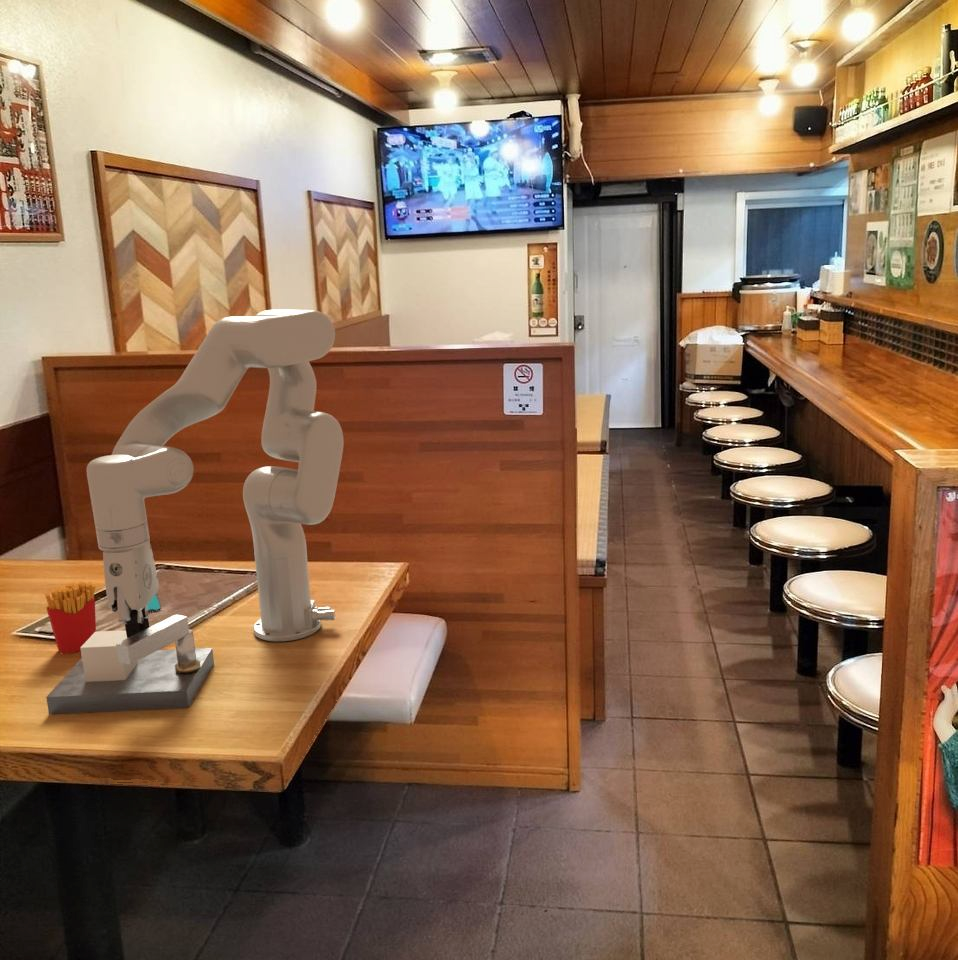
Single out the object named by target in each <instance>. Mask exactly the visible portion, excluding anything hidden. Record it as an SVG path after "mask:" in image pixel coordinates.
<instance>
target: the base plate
mask: <svg viewBox="0 0 958 960" xmlns="http://www.w3.org/2000/svg"><path fill="white" fill-rule="evenodd" d="M195 651H196V660H199V661H200V668H199V669H197V670H195V671H193V672H189V673H179V672H176V670H175V665H176V664H177V663H178V661H177V654H176V649H159V650H157V651H155V652H153V653H152V654H150V655H148V656H146V657H144V658H142V659H140V660H138V664H137V665H136V666H135V668H134V669H133V670H132V672H131V673H130V674H129V676H128V677H127V678H126V680H114V681H93V682H85V675H84V669H83V662H82V657H81V658H80V659H79V660H78V661H77V662H76V664H75V665H73V667H72V668H71V669H70V670H69V671H68V672H67V673H66V674H65V676H64V677H63V678H62V679H61V680H60V681H59V682H58V683H57V685H55V686H54V688H53V689H52V690H51V691H50V692H49V693H48V695H47V696H46V697H45V698H46V704H47V710H48V714H49V715H60V714H62V715H63V714H84V713H103V712H104V713H106V712H126V711H129V712H130V711H146V710H147V711H150V710H169V709H171V710H173V709H189V708H190V706H191V704H192V703H193V701H194V700H195V698H196V696H197V694H198V693H199V691H200V689H201V687H202V686H201V685H203V684H204V682H205V681H206V679H207V676H208V675H209V674H210V672H211V669H212V668H213V667H214V665H215V658H214V651H213V647H205V648H203V647H202V648H201V647H200V648H198V647H197V648H195ZM213 664H214V665H213ZM209 671H210V672H209Z"/></svg>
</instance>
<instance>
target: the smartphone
mask: <svg viewBox="0 0 958 960" xmlns="http://www.w3.org/2000/svg"><path fill="white" fill-rule="evenodd" d="M147 605H148V612H150V611H156V610H160V609H161V610H162V606H161V604H160V601H159V598H158V595H157V593H156V594H155V595H154V597H153V598H152V599H151V600H150V601H149V602H148V604H147ZM161 610H160V611H161ZM156 612H157V611H156Z"/></svg>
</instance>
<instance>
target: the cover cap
mask: <svg viewBox="0 0 958 960" xmlns="http://www.w3.org/2000/svg"><path fill="white" fill-rule="evenodd" d="M125 639H127V635H126V629H124V630H103V631H102V630H101V631H96V632H94V634H93V635H92V636H91V637H90V638H89V639H88V640H87V641H86V642H85V643H84V644H83V645H82V646H81V648H80V649H81V650H80V653H81V658H82V662H83V669H84V675H85V682H93V681H114V680H126V678H127V677H128V676H129V674H130V673H131V672H132V670H133V669H134V668H135V666H136V665H137V664H138V661H136V662H135V663H133V664H131V665H129V664H125V663H120V662H118V656H117V649H116V644H117V643H119V642H121V641H123V640H125Z"/></svg>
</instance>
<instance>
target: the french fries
mask: <svg viewBox="0 0 958 960" xmlns="http://www.w3.org/2000/svg"><path fill="white" fill-rule="evenodd" d="M95 590H96V585H95V583H93V582H92V581H89V582H83V581H78V583H77V584H76V582H71V583H65V586H63V587H57V588H52V589H51V590H50V593H49V592H46V593H44V596H45V599H46V603H47V605H48V606H46V607H45V608H46V612H47V615H48V619H49V623H50V625H51V629H52V633H53V637H54V639H55V643H56V647H57V651H58V650H59V651H60V652H61V653H69V654H72V652H73V653H76V651H77V652H81V649H80V648H81V646H82V645H83V644H84V643H85V642H86V641H87V640H88V639H89V638H90V637H91V636H92V635H93V634H94V632H97V626H96V625H97V621H96V619H97V618H96V598H95ZM50 594H51V595H50ZM59 651H58V652H59ZM60 652H59V653H60ZM61 653H60V654H61Z"/></svg>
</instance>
